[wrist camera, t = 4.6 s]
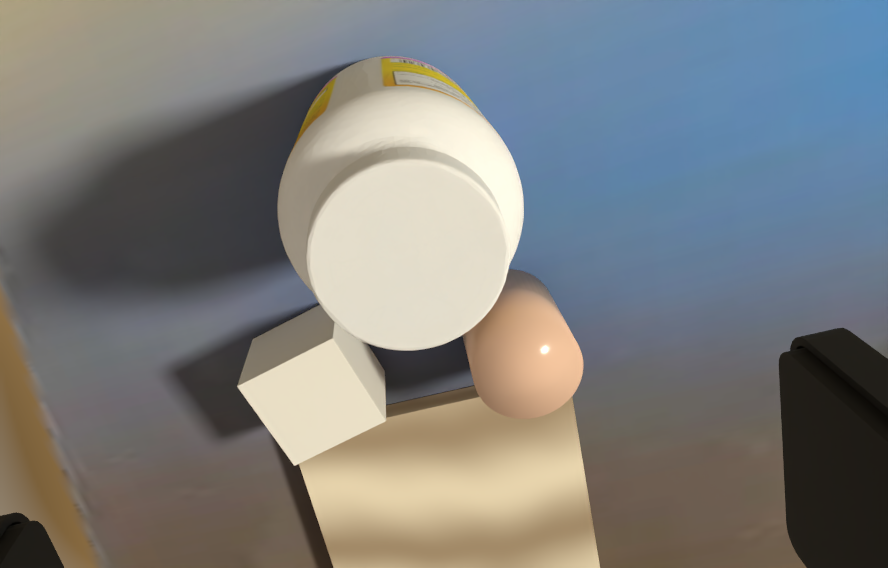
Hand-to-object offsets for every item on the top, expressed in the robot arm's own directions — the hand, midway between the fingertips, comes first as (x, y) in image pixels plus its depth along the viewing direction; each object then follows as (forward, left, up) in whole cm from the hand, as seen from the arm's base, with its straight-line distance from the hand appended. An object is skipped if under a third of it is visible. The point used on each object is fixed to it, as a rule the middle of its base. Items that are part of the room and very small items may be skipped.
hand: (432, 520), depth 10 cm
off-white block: (+8, -5, -22) cm, 23 cm away
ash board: (+18, -1, -21) cm, 28 cm away
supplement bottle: (0, 0, -22) cm, 22 cm away
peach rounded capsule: (+8, +3, -21) cm, 23 cm away
